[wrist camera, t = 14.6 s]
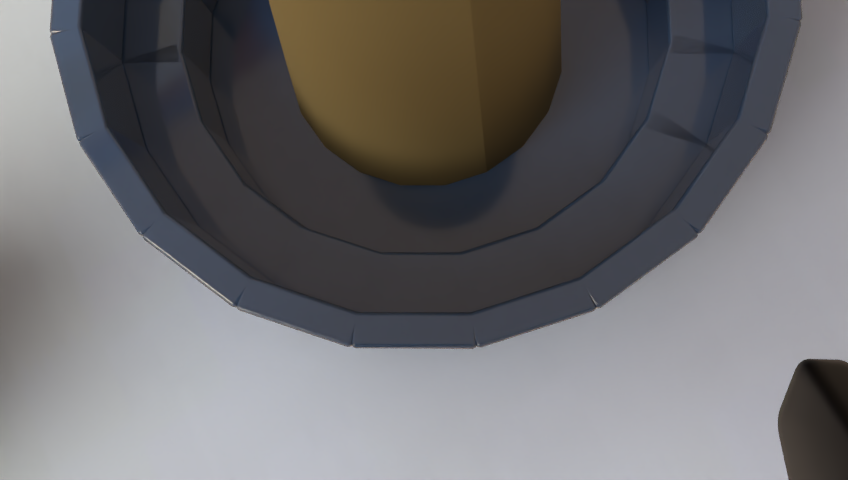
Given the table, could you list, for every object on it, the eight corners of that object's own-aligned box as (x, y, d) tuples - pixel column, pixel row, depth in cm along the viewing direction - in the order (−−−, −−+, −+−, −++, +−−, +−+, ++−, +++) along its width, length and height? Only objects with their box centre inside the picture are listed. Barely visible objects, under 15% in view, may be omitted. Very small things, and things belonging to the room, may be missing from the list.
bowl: (494, 471, 16) (503, 514, 12) (30, 120, 18) (-95, 58, 14) (838, -16, 17) (951, -123, 13) (369, -308, 19) (343, -481, 15)
